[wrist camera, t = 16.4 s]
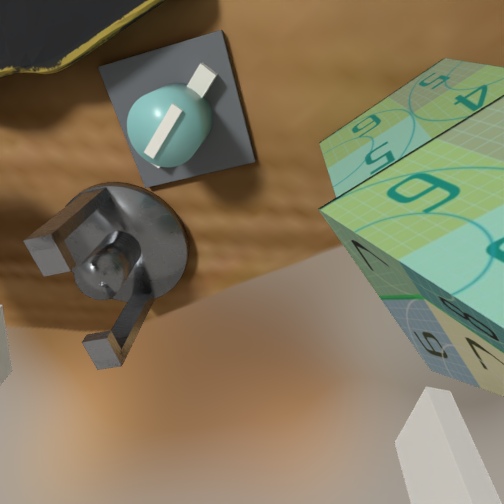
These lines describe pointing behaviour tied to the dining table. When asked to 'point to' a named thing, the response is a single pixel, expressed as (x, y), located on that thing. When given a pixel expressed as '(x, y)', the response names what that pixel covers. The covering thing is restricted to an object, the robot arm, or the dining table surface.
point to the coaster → (181, 71)
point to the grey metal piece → (114, 256)
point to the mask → (60, 31)
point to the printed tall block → (431, 213)
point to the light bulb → (172, 120)
